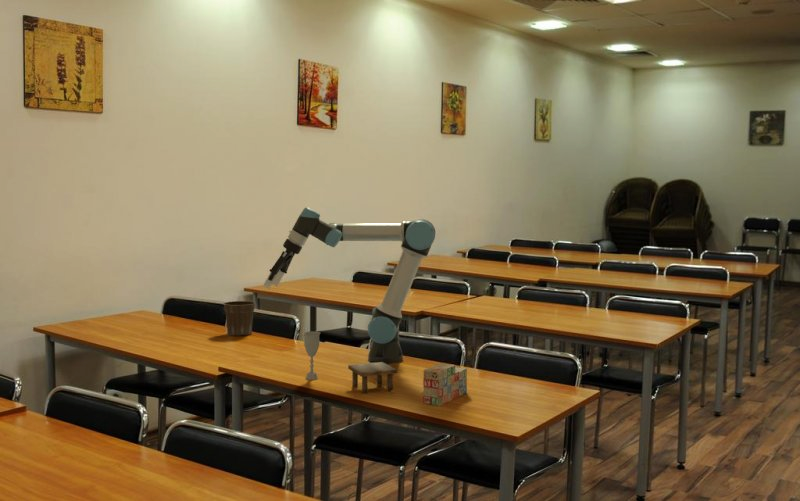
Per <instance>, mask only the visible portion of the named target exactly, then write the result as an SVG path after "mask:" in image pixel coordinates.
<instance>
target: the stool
mask: <svg viewBox="0 0 800 501" xmlns="http://www.w3.org/2000/svg"><path fill="white" fill-rule="evenodd" d="M347 366H348V367H347V368H348V370H349V371H352V380H351V381H352V382H351V383H352V387H353V388H358V387H359V383H358V382H359V378H358V377H359V376H360V377H361V393H362V394H368V379H369V378H368V377H373V376H374V377H375V376H376V385H379V386H381V385H383V376H385V375H386V376H387V377H386V391H388V392H391V391H393V388H394V387H393V384H394V383H393V375H394V374H398V369H397V368H395V367H393V366H391V365H389V364H388V363H383V362H377V363H376V362H369V363H357V364H349V365H347Z"/></svg>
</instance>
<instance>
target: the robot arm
mask: <svg viewBox="0 0 800 501" xmlns="http://www.w3.org/2000/svg"><path fill="white" fill-rule="evenodd" d="M320 217H321V214H320V213H319V212H317V211H316V210H314V209H312V208H310V207H308V206H307V207H304V208H303V210H302V211H301V213H300V214H299V216H298V217H297V219H296V221H295V223H294V225H293V226H292V229H291V230H289V231H288V232H289V234H288V236H287V238H286V239H285V241H284V242H283V244H282V246H283V248H284V249H285V251H282V252H281V254H280V255H279V257H278V258H277V260H276V261H275V263H274V265H272V267H271V268H270V269H269V270H268V271H269V272H270V273H269V274H268V276H267V278H266V280H265V281H264V283H263V285H262V286H263V287H265V288H266V289H271V286H272V285H273V286H275V287H278V286H279V284H280V282H281V281H282V279H283V277H284V275H285V274H288V270H289V267H290V265H291V263H292V261H293V259H294V256H295V255H299V254H300V252H301V250H302V249H303V246H305V244H306V242H307V240H308V238H309V236H310V235H311V236H312V237H314V238H316V239H317V240H318V241H321V242H322V243H324V244H325V245H326V246H330V247H331V248H335V247H336V246H337V245H338V244H339V242H401V245H400V248H401V250H402V252H401V255H400V258H399V260H398V263H397V265H396V266H395V269H394V272H393V274H392V277H391V279H390V283H389V284H388V287H387V289H386V292H385V294H384V296H383V300H382V302H381V303H380V304H378V305H376V307H373V308H372V310H371V311H372V312H371V316H372V318H371V319H370V321H369V323H368V326H367V333H368V336H369V337H370V339H371V340H372V341H371V342H372V343H371V346H370V348H369V351H368V354H367V358H368V359H367V360H368V361H369V362H370V363H377V362H383V363H385V364H395V363H400V362H402V361H403V359H404V358H403V356H404V355H403V350H402V348H401V345H400V324H401V321H402V318H403V315H402V309H403V306H404V305H405V302H406V300H407V297H408V294H409V292H410V290H411V287H412V285H413V282H414V280H415V277H416V275H417V272H418V271H419V267H420V264H421V263H422V260H423V259H425V258H427V257H428V254H429V252H430V249H431V248H432V245H433V243H434V242H435V240H436V239H435V238H436V228H435V226H434V224H433V223H432V222H431V221H429V220H426V219H424V218H423V219H422V218H421V219H417V220H407V221H406V220H405V221H402V222H401V223H335V222H331V223H327V222H325V221H323V220H321V219H320Z"/></svg>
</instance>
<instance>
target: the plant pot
mask: <svg viewBox="0 0 800 501" xmlns="http://www.w3.org/2000/svg"><path fill="white" fill-rule="evenodd" d="M255 305H256V302H255V301H252V300H251V301H248V300H235V301H233V300H232V301H226V302H223V307H224V308H223V309H224V312H225V318H226V320H225V321H226V322H225V323H226V332H227V335H228V336H233V337H234V336H235V337H240V336H250V335H251V334H252V332H253V319H254V311H255Z"/></svg>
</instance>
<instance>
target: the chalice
mask: <svg viewBox="0 0 800 501" xmlns="http://www.w3.org/2000/svg"><path fill="white" fill-rule="evenodd" d="M302 334H303V336H304V337H303V344H304V345H303V346H304V349H305V352H306V354H307V355H308V357H310V360H309V363H310V365H309V367H310V370H309V372H308V373H306V377H305V380H309V381H310V380H311V381H313V380H314V381H315V380H318V379H319V377H318V375H317V372H315V371H314V367H315V365H314V362H315V361H314V357H315V356H316V355H317V353H318V350H319V347H320V335H321V332H320V331H305V332H302Z"/></svg>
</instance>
